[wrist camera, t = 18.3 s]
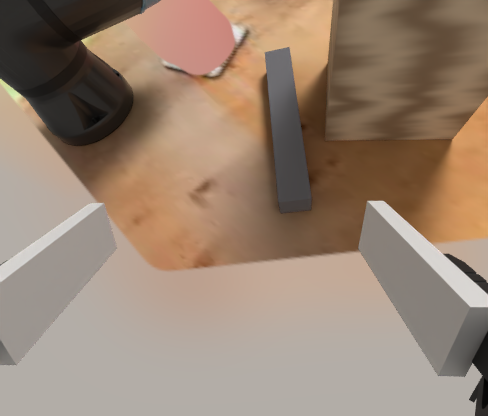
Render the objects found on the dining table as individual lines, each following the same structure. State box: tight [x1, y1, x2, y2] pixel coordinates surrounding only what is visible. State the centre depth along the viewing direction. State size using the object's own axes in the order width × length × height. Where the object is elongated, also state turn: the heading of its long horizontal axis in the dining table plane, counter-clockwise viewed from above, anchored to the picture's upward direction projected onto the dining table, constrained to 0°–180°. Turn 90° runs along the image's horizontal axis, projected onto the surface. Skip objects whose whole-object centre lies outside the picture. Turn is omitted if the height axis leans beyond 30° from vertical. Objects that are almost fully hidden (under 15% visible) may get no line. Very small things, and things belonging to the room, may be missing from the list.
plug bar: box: [265, 47, 312, 213], centre depth 34 cm, size 4×24×4 cm, turn 2°
